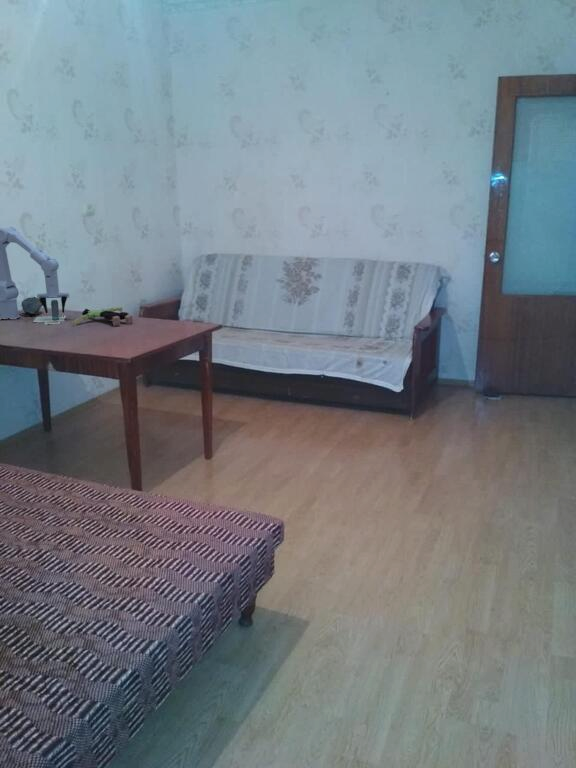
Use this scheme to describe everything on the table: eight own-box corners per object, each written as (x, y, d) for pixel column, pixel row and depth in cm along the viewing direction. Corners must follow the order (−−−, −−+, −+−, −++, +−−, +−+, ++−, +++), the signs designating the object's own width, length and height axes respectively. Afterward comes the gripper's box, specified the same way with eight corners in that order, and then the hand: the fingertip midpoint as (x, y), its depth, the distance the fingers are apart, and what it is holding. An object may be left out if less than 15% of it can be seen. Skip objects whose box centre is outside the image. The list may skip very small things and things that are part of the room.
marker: (51, 320, 303) (50, 300, 300) (52, 319, 306) (51, 299, 303) (58, 320, 304) (57, 300, 301) (59, 318, 307) (58, 299, 304)
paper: (33, 322, 300) (33, 322, 299) (36, 317, 312) (36, 316, 311) (63, 321, 303) (63, 320, 303) (65, 316, 315) (65, 315, 315)
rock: (43, 310, 329) (23, 307, 327) (44, 297, 325) (23, 294, 322) (38, 326, 317) (17, 323, 314) (38, 312, 312) (17, 309, 310)
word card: (43, 324, 295) (43, 324, 295) (45, 322, 299) (44, 321, 299) (59, 324, 297) (59, 323, 296) (60, 322, 301) (60, 321, 301)
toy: (150, 316, 307) (110, 312, 324) (148, 303, 304) (108, 300, 321) (100, 336, 283) (60, 331, 300) (96, 322, 281) (56, 317, 298)
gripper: (35, 286, 295) (38, 314, 299) (67, 285, 298) (70, 313, 302) (36, 284, 301) (40, 312, 305) (68, 283, 305) (71, 310, 309)
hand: (55, 312), depth 304 cm, fingers open, 7 cm apart
